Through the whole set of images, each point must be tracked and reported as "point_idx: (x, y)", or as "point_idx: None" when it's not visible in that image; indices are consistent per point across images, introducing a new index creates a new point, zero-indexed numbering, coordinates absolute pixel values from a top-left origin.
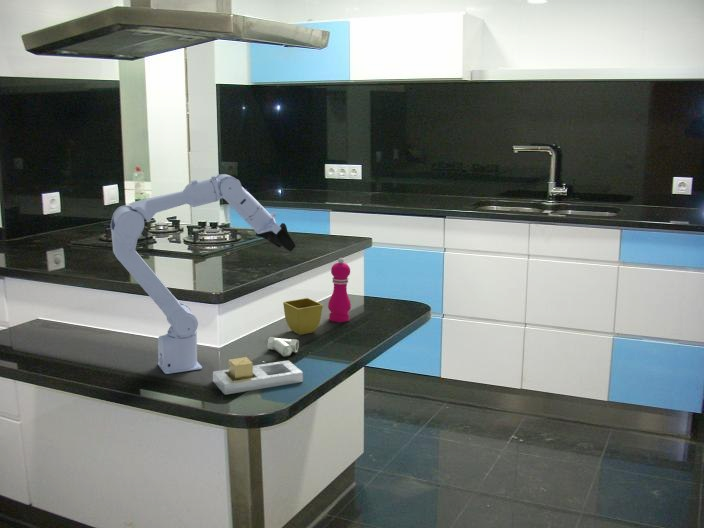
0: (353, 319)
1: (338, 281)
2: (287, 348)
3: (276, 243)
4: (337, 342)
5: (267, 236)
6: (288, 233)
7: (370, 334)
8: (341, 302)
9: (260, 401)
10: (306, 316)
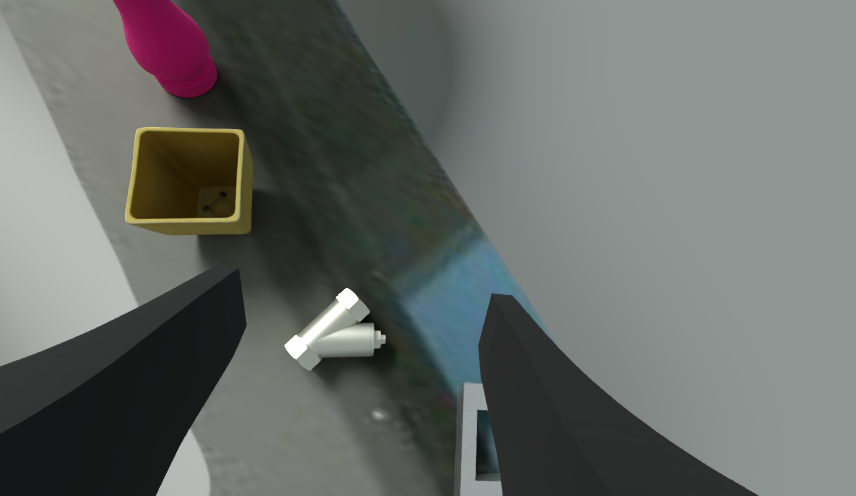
0: (212, 47)
1: None
2: (378, 340)
3: (221, 358)
4: (347, 179)
5: (139, 492)
6: (616, 401)
7: (338, 84)
8: (189, 42)
9: None
10: (247, 199)
